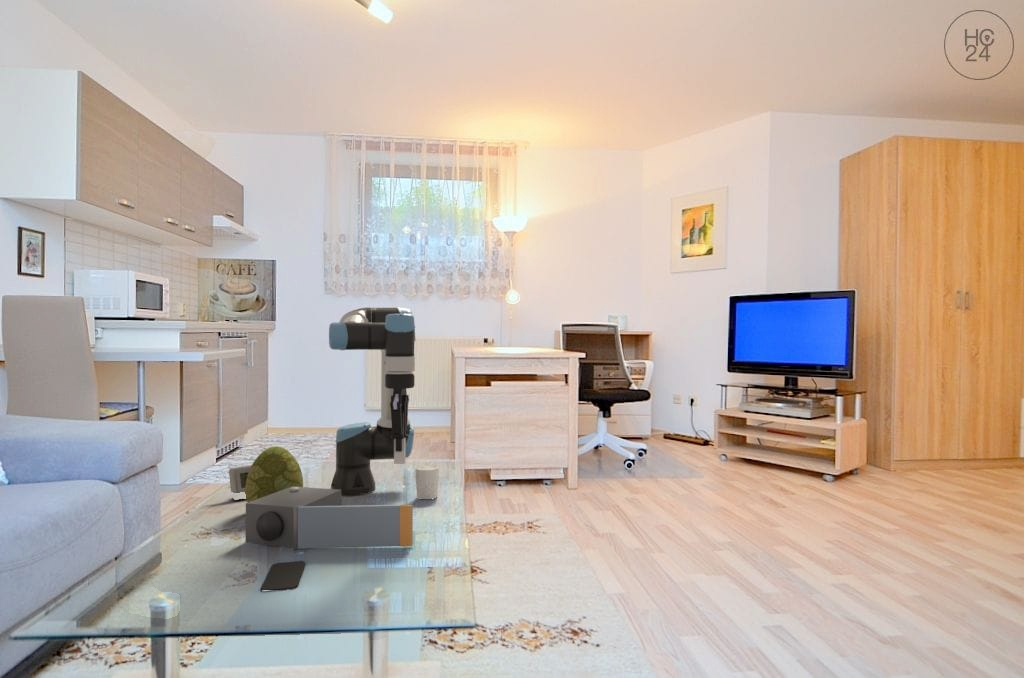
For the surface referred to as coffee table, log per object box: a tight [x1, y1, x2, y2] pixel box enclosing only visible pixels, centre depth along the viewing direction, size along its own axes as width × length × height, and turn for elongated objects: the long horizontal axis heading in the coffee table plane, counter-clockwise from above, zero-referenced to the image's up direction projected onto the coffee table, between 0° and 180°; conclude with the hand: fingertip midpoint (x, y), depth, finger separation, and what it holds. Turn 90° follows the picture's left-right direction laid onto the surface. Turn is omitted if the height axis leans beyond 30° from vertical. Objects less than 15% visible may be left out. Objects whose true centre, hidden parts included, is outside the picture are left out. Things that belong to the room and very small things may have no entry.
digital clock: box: [228, 464, 252, 493], centre depth 195 cm, size 16×9×11 cm, turn 122°
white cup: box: [414, 464, 440, 500], centre depth 192 cm, size 8×8×10 cm
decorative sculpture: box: [245, 445, 304, 503], centre depth 175 cm, size 16×16×20 cm
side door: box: [292, 504, 414, 550], centre depth 143 cm, size 29×1×10 cm, turn 93°
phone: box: [260, 560, 306, 591], centre depth 125 cm, size 7×1×15 cm
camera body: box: [245, 486, 342, 548], centre depth 154 cm, size 21×16×11 cm
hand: (399, 463), depth 150 cm, fingers closed
